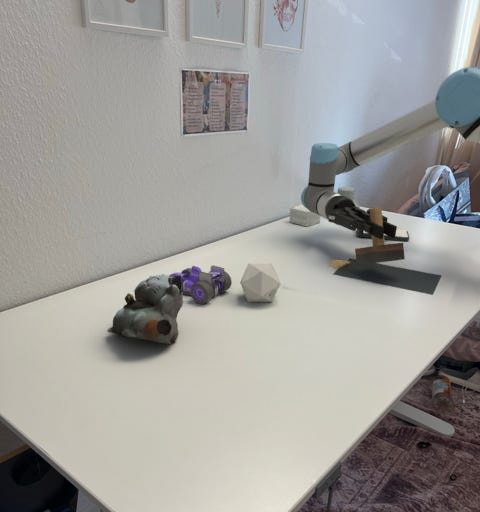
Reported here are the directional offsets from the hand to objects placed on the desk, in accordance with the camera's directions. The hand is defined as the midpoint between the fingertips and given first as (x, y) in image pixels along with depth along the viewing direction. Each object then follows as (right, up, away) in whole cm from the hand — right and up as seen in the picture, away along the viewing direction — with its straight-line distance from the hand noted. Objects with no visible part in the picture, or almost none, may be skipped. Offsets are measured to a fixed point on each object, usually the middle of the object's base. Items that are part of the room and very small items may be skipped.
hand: (388, 232), depth 112 cm
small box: (-13, +13, +53) cm, 56 cm away
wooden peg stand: (-1, -6, +5) cm, 8 cm away
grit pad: (-9, -6, +14) cm, 18 cm away
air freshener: (+2, +17, +61) cm, 63 cm away
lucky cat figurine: (-53, -24, -20) cm, 61 cm away
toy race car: (-46, -14, -1) cm, 48 cm away
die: (-31, -16, -4) cm, 35 cm away
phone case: (+11, +6, +41) cm, 43 cm away
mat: (+2, -10, +8) cm, 13 cm away
